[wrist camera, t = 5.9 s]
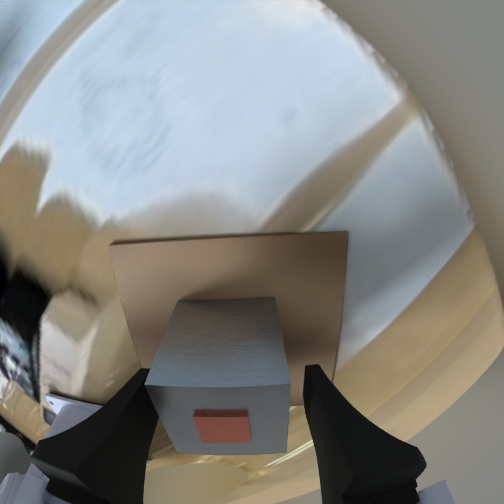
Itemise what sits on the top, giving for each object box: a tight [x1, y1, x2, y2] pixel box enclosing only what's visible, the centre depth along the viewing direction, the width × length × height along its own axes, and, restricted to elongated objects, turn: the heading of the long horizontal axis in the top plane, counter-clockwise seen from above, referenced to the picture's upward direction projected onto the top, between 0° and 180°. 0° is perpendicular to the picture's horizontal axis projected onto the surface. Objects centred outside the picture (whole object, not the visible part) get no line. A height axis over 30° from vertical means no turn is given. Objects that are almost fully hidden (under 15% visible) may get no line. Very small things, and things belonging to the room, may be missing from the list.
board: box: [108, 231, 348, 406], centre depth 15 cm, size 12×12×3 cm
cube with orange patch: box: [145, 297, 291, 455], centre depth 12 cm, size 5×5×6 cm
